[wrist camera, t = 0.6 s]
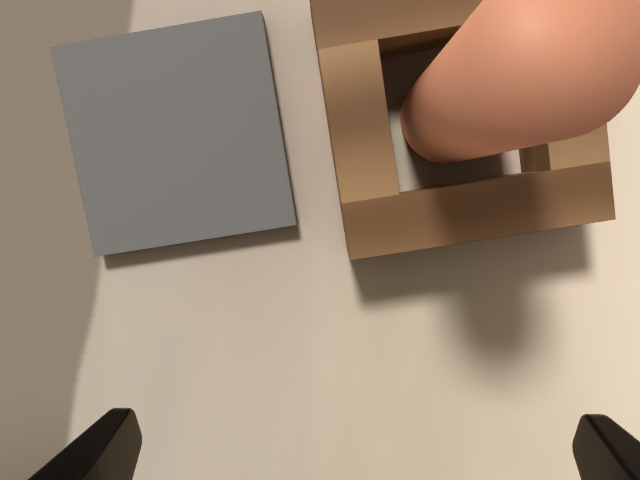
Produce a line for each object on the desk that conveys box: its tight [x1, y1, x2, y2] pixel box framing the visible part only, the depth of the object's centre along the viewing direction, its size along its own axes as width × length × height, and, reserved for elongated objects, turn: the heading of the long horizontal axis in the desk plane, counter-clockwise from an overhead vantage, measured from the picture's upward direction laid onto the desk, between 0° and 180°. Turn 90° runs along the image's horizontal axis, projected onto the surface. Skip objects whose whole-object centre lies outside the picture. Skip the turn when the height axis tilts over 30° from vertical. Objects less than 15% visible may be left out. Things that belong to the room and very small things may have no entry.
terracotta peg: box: [400, 0, 640, 164], centre depth 17 cm, size 4×4×11 cm
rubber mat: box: [50, 11, 297, 257], centre depth 23 cm, size 10×10×1 cm
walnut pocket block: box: [310, 0, 615, 260], centre depth 21 cm, size 12×12×3 cm
